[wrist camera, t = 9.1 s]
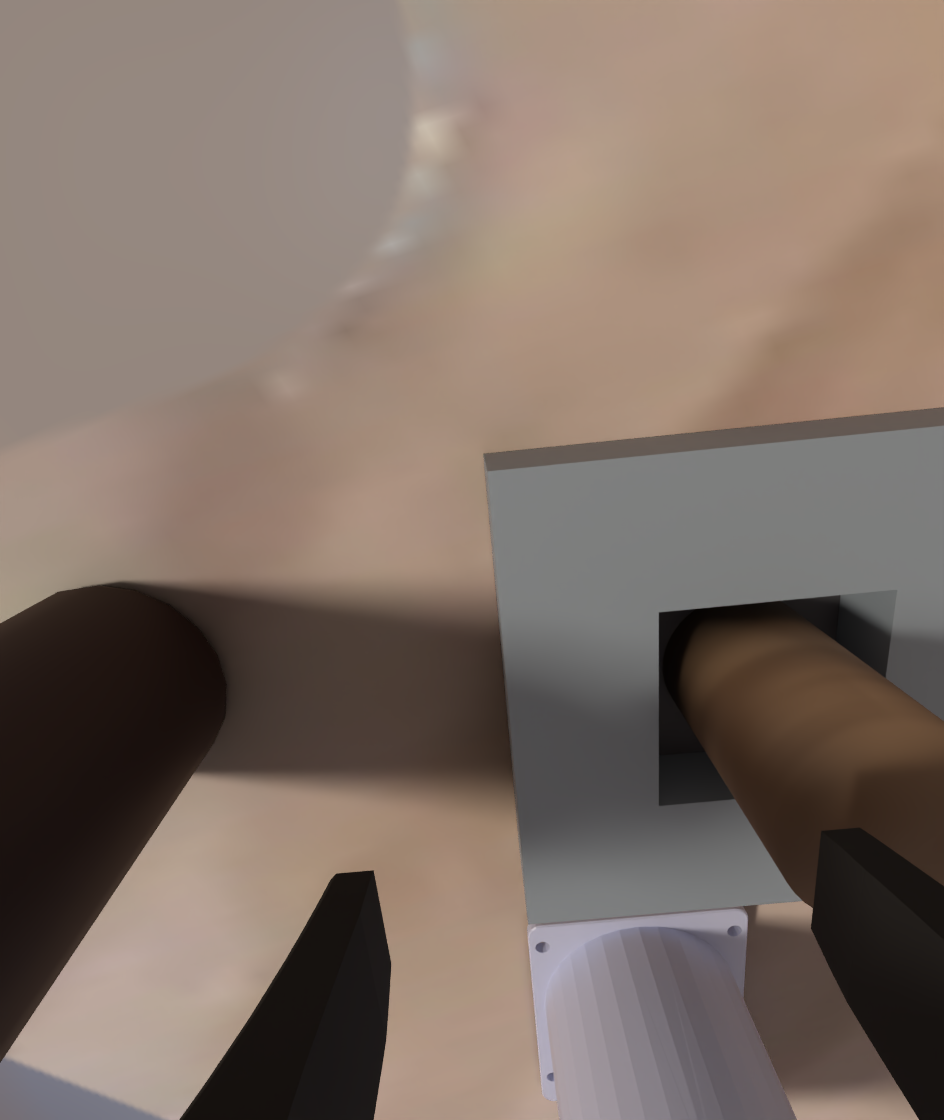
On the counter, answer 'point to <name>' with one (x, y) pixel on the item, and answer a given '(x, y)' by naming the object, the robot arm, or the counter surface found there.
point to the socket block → (662, 604)
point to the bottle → (88, 765)
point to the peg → (808, 737)
